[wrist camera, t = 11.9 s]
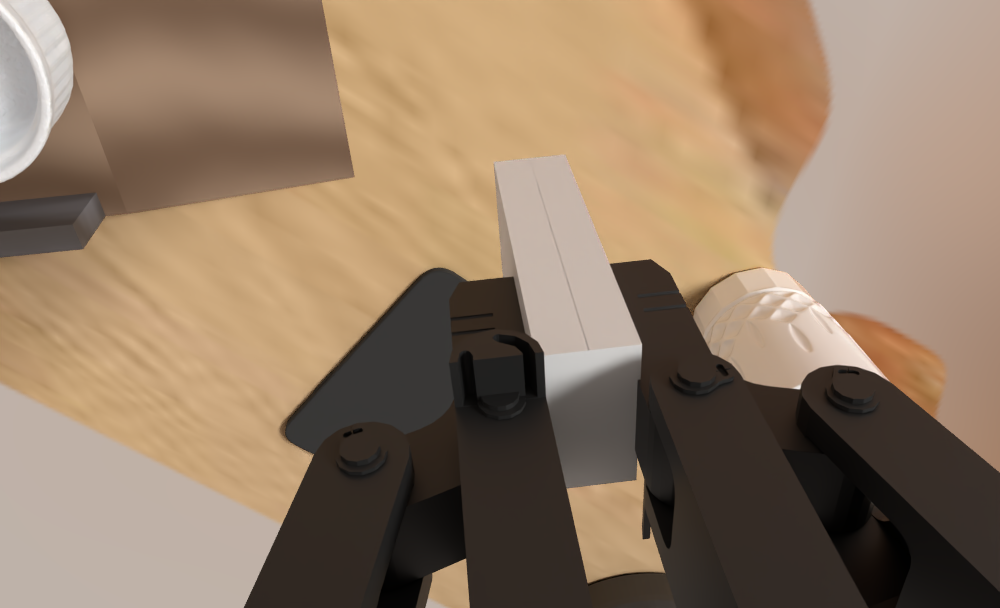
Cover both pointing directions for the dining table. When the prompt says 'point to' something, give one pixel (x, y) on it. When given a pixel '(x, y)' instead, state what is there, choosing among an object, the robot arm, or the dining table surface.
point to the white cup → (774, 329)
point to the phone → (389, 369)
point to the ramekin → (30, 80)
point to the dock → (179, 114)
